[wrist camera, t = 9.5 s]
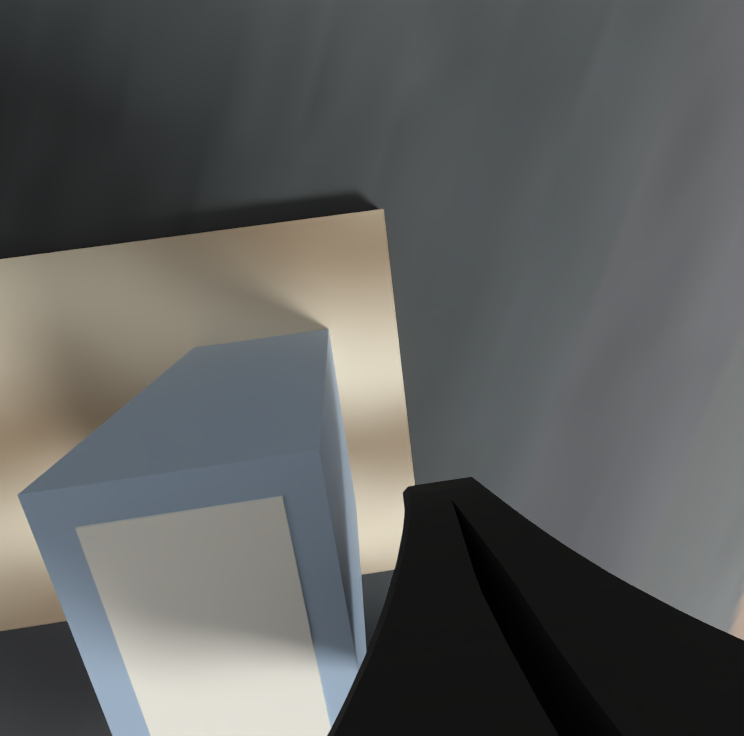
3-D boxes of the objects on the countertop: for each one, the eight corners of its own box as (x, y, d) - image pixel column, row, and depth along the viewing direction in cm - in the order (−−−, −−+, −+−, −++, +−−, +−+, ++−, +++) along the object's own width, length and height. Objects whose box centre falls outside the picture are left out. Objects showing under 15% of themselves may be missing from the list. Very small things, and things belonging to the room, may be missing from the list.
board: (419, 546, 18) (423, 564, 17) (-17, 614, 17) (-38, 637, 16) (380, 210, 14) (383, 208, 13) (-169, 282, 14) (-208, 286, 13)
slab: (356, 503, 16) (374, 768, 8) (236, 521, 16) (138, 807, 8) (328, 328, 14) (318, 451, 6) (193, 347, 14) (15, 496, 6)
